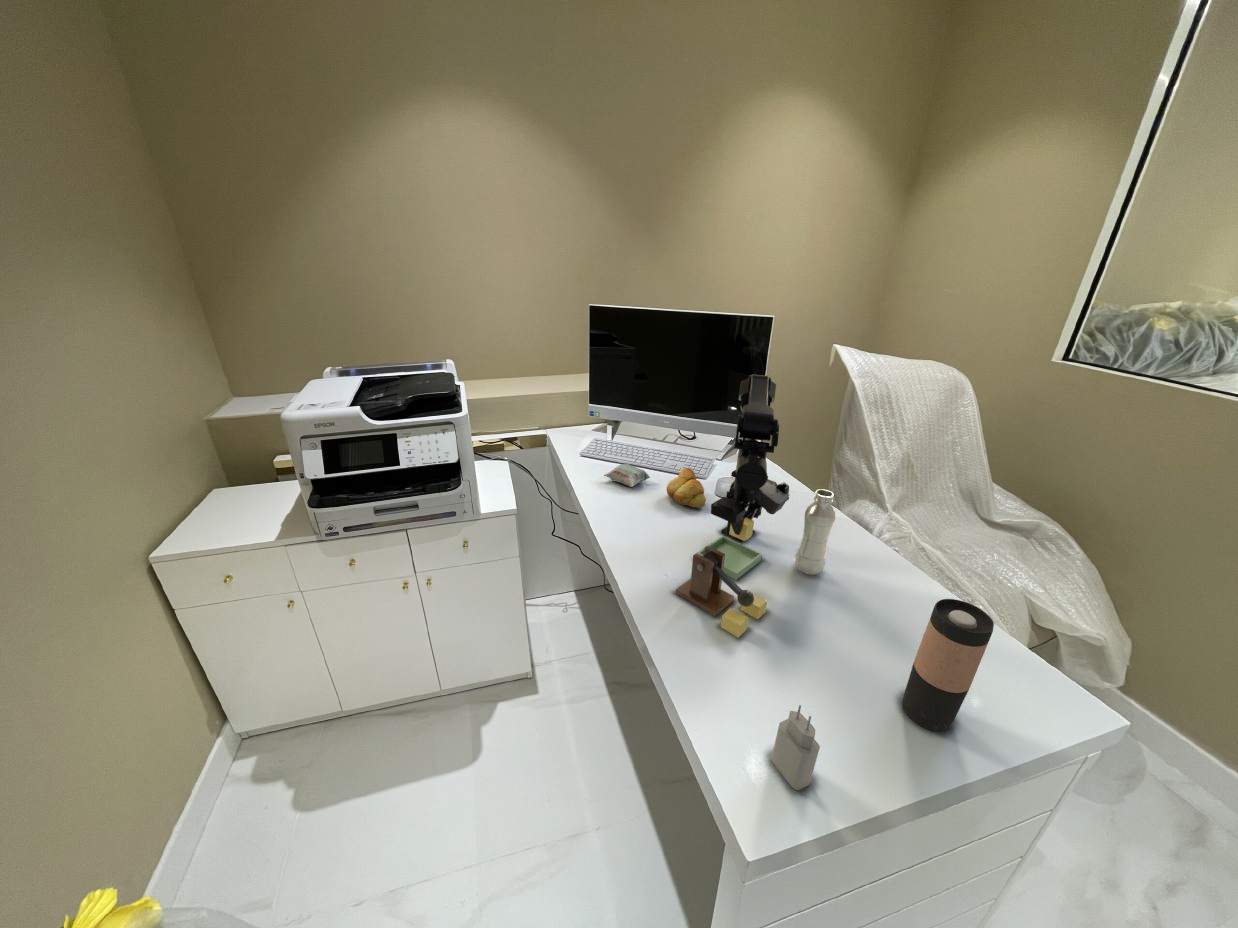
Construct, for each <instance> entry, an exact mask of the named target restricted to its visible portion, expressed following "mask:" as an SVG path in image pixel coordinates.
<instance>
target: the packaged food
mask: <svg viewBox="0 0 1238 928" xmlns="http://www.w3.org/2000/svg"><path fill="white" fill-rule="evenodd" d="M603 477H606V478H609V479H610V480H612V481H615V482H618V483H621V484H622V485H625V486H628V487H631V488H632V487H634V486H636V485H638V484H640V483H642V482H644V481H646V480H648V479H650V478H651V476H650V475H649V474H648V473H647V472H646V471H645V470H644V469H642V468H638V467H636V466H633V465H631V464H628V463H622V464H619V465H617V466H616V467H614V468H613V469H611V470H610V472H606V473H604V474H603Z"/></svg>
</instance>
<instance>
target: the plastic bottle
mask: <svg viewBox="0 0 1238 928" xmlns="http://www.w3.org/2000/svg"><path fill="white" fill-rule="evenodd" d="M833 499H834V492H832V491H830V490H828V489H821V488H820V489H816V491H815V493H814V497H813V500H814V501H813V502H811V503H810V504H809V505H808V506H806V509H805V510H804V519H803V521H804V522H803V533H802V538H801V542H800V544H799V547H798V549H797V552H796V554H795V558H794V559H795V561H794V562H795V566H796V567H797V569H798V571H800V572H801V573H803V574H806V575H812V576H814V575H818V574H820V573H821V572H823V570H824V568H825V566H826V551H827V543H828V540H829V537H830V533H831V531H832V528H833V527H834V524H835V521H836V511H835V510H834V507H833V506H832V504H833V503H834V500H833Z"/></svg>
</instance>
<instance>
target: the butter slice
mask: <svg viewBox="0 0 1238 928" xmlns="http://www.w3.org/2000/svg"><path fill="white" fill-rule="evenodd" d="M754 524H755V520H754V519H752V520H751V519H749V518H745V519H744V523H743V526H742V529H741V532H740V535H737V534H735V533H734V531H733V528H732V526H731V525H730V532H729V534H730V535H732V536H734V537H736V538H739V539H741V540H743V542H746V541H747V540H749V539H750V538H751V537H752V536H753V535H752V531H753V530H754Z"/></svg>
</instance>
